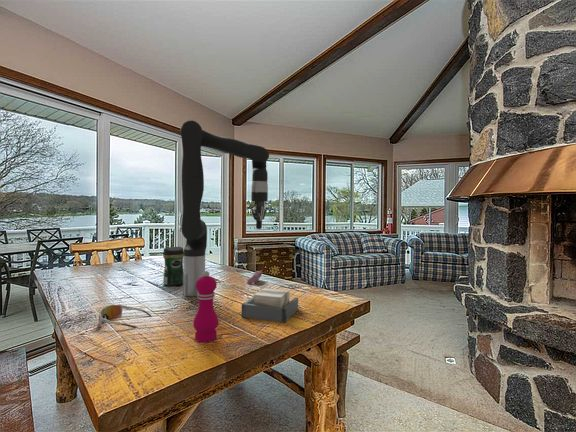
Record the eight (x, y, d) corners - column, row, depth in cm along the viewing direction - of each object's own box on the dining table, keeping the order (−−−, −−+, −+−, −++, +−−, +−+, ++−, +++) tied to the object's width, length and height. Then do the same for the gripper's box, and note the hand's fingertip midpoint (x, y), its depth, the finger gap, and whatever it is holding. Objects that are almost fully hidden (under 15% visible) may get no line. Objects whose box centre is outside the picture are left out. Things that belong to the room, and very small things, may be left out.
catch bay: (285, 322, 110) (285, 309, 110) (241, 316, 115) (241, 304, 115) (297, 309, 124) (298, 297, 124) (258, 304, 129) (258, 293, 129)
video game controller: (253, 287, 162) (260, 275, 161) (245, 283, 162) (252, 271, 162) (258, 283, 172) (264, 271, 171) (251, 278, 172) (257, 267, 171)
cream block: (280, 320, 112) (280, 297, 112) (253, 316, 115) (254, 294, 115) (289, 311, 122) (289, 290, 122) (264, 308, 125) (264, 288, 125)
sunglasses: (113, 314, 117) (115, 300, 116) (154, 320, 116) (156, 307, 116) (88, 329, 102) (90, 313, 102) (134, 337, 102) (136, 321, 102)
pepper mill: (196, 333, 100) (196, 268, 99) (219, 332, 100) (220, 268, 100) (190, 343, 92) (191, 273, 92) (216, 342, 93) (217, 273, 92)
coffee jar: (180, 281, 167) (180, 245, 166) (186, 284, 160) (186, 247, 160) (161, 283, 161) (161, 246, 160) (166, 287, 155) (166, 248, 154)
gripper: (257, 192, 157) (257, 227, 158) (246, 190, 144) (245, 229, 145) (272, 192, 155) (271, 228, 155) (261, 190, 142) (260, 230, 143)
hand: (258, 228), depth 150 cm, fingers closed
